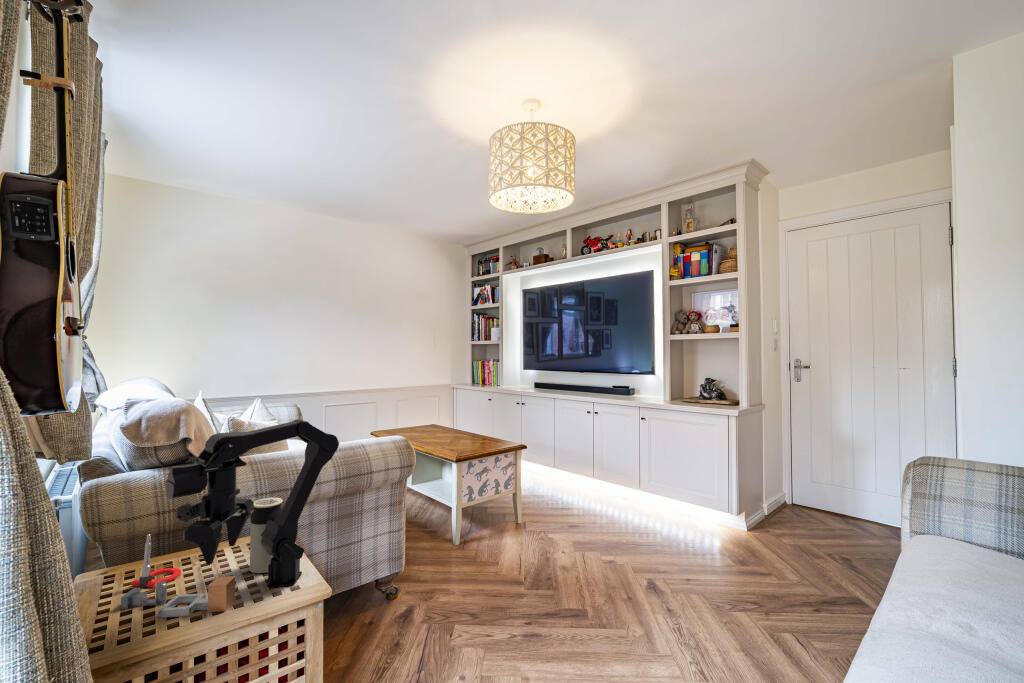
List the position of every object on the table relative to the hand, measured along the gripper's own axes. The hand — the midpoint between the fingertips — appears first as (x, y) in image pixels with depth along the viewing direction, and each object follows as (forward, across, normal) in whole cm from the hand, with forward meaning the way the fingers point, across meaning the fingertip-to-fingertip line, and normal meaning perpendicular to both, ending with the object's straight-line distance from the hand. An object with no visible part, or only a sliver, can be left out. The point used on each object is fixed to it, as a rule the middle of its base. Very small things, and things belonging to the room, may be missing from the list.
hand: (221, 554), depth 105 cm
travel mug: (+12, -19, +2) cm, 22 cm away
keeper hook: (+12, -2, -18) cm, 22 cm away
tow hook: (+12, -14, -23) cm, 30 cm away
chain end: (+12, +1, -4) cm, 13 cm away
